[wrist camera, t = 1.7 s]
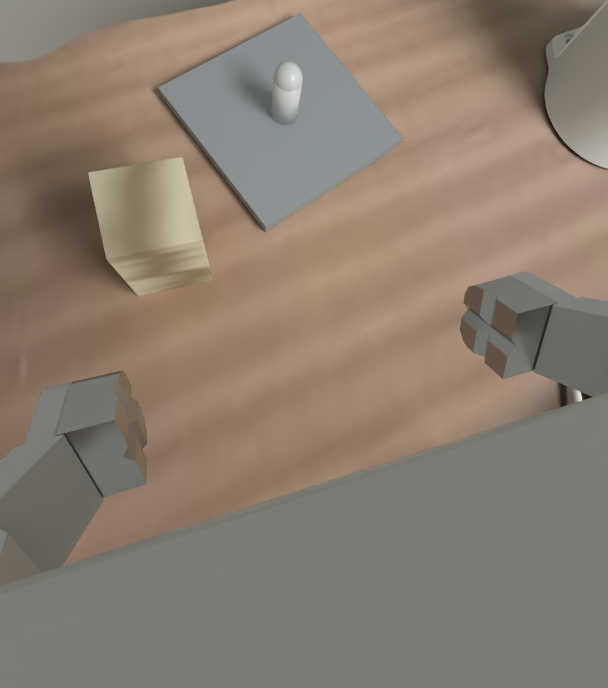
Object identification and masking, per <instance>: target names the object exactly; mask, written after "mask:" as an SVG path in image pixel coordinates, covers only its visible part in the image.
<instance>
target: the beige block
mask: <svg viewBox="0 0 608 688" xmlns="http://www.w3.org/2000/svg"><path fill="white" fill-rule="evenodd" d="M88 175H89V180H90V184H91V189H92V194H93V199H94V203H95V208H96V213H97V217H98V222H99V227H100V232H101V236H102V241H103V246H104V250H105V255H106V259H107V260H108V262H109V263H110V264H111V265H112V266H113V267H114V269H115V270H116V271H117V272H118V273H119V274H120V276H121V277H122V278H123V279H124V280H125V281H126V283H127V284H128V285H129V286H130V287H131V288H132V290H133V291H134V292H135V293H136V294H137V295H138V296H142V295H146V294H151V293H156V292H160V291H165V290H170V289H174V288H179V287H184V286H188V285H193V284H198V283H202V282H207V281H211V280H213V278H212V274H211V270H210V266H209V262H208V258H207V254H206V250H205V246H204V242H203V238H202V234H201V230H200V226H199V222H198V218H197V214H196V210H195V206H194V202H193V198H192V194H191V190H190V186H189V182H188V178H187V174H186V170H185V166H184V162H183V158H182V157H180V158H174V159H168V160H162V161H156V162H149V163H143V164H137V165H131V166H125V167H119V168H113V169H106V170H100V171H94V172H88Z"/></svg>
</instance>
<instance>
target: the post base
mask: <svg viewBox="0 0 608 688" xmlns="http://www.w3.org/2000/svg"><path fill="white" fill-rule="evenodd" d="M158 89H159V92H160V96H161V97H162V98H163V100H164V101H165V102H166V104H167V105H168V106H169V108H170V109H171V110H172V111H173V113H174V114H175V115H176V117H177V118H178V119H179V121H180V122H181V123H182V124H183V126H184V127H185V128H186V130H187V131H188V132H189V134H190V135H191V136H192V137H193V139H194V140H195V141H196V143H197V144H198V145H199V146H200V148H201V149H202V150H203V152H204V153H205V154H206V156H207V157H208V158H209V159H210V161H211V162H212V163H213V165H214V166H215V167H216V169H217V170H218V171H219V172H220V174H221V175H222V176H223V178H224V179H225V180H226V182H227V183H228V184H229V185H230V187H231V188H232V189H233V191H234V192H235V193H236V194H237V196H238V197H239V198H240V200H241V201H242V202H243V204H244V205H245V206H246V207H247V209H248V210H249V211H250V213H251V214H252V215H253V217H254V218H255V219H256V220H257V222H258V223H259V224H260V226H261V227H262V228H263V230H264V231H265V232H266V231H268V230H269V229H271V228H272V227H274V226H276V225H277V224H279V223H280V222H282V221H283V220H285V219H286V218H288V217H289V216H291V215H293V214H294V213H296V212H297V211H299V210H300V209H302V208H303V207H305V206H306V205H308V204H310V203H311V202H313V201H314V200H316V199H317V198H319V197H320V196H322V195H323V194H325V193H326V192H328V191H330V190H331V189H333V188H334V187H336V186H337V185H339V184H340V183H342V182H343V181H345V180H347V179H348V178H350V177H351V176H353V175H354V174H356V173H357V172H359V171H360V170H362V169H364V168H365V167H367V166H368V165H370V164H371V163H373V162H374V161H376V160H377V159H379V158H381V157H382V156H384V155H385V154H387V153H388V152H390V151H391V150H393V149H394V148H396V147H398V146H399V145H400V143H401V141H402V140H403V138H402V137H401V135H400V134H399V133H398V132H397V130H396V129H395V128H394V127H393V126H392V124H391V123H390V122H389V121H388V119H387V118H386V117H385V116H384V115H383V113H382V112H381V111H380V110H379V108H378V107H377V106H376V105H375V104H374V102H373V101H372V100H371V99H370V97H369V96H368V95H367V94H366V93H365V91H364V90H363V89H362V88H361V86H360V85H359V84H358V83H357V82H356V80H355V79H354V78H353V77H352V75H351V74H350V73H349V72H348V71H347V69H346V68H345V67H344V66H343V64H342V63H341V62H340V61H339V60H338V58H337V57H336V56H335V55H334V53H333V52H332V51H331V50H330V49H329V47H328V46H327V45H326V44H325V42H324V41H323V40H322V39H321V38H320V36H319V35H318V34H317V33H316V31H315V30H314V29H313V28H312V27H311V25H310V24H309V23H308V22H307V20H306V19H305V18H304V17H303V16H302V14H301V13H300V14H298V15H296V16H294V17H292V18H290V19H288V20H286V21H284V22H282V23H280V24H279V25H277V26H275V27H273V28H271V29H269V30H267V31H265V32H263V33H261V34H259V35H257V36H256V37H254V38H252V39H250V40H248V41H246V42H244V43H242V44H240V45H238V46H236V47H234V48H233V49H231V50H229V51H227V52H225V53H223V54H221V55H219V56H217V57H215V58H213V59H211V60H209V61H208V62H206V63H204V64H202V65H200V66H198V67H196V68H194V69H192V70H190V71H188V72H186V73H185V74H183V75H181V76H179V77H177V78H175V79H173V80H171V81H169V82H167V83H165V84H163V85H162V86H160V87H158Z"/></svg>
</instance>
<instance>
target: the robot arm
mask: <svg viewBox="0 0 608 688" xmlns="http://www.w3.org/2000/svg"><path fill="white" fill-rule="evenodd" d="M546 58H547V62H548V67H549V71H548V76H547V80H546V85H545V104H546V109H547V112H548V115H549V118H550V120H551V122H552V124H553V126H554V128H555V130H556V131H557V133H558V134H559V136H560V137H561V138H562V140H563V141H564V142H565V143H566V144H567V145H568V146H569V147H570V148H571V149H572V150H573V151H574V152H576V153H577V154H578V155H580V156H581V157H582V158H584V159H586V160H587V161H589V162H591V163H593V164H595V165H598V166H600V167H604V168H607V169H608V0H606V1H605V2H604V3H603V4H602V5H601V7H600V8H599V9H598V10H597V11H596V12H595V13H594V14H593V15H592V16H591V18H590V19H589V20H588V21H587V22H586V23H585V24H584V25H583V26H582V27H579V28H576V29H573V30H570V31H568V32H565V33H562V34H559V35H557V36H555V37H554V38H553V39H552V40H551V41H550V42H549V43H548V44H547V46H546ZM464 304H465V305H466V307H467V308H468V309H467V311H466V312H465V314H464V315H463V316H462V318H461V326H460V331H461V335H462V339H463V341H464V343H465V344H466V346H467V347H468V348H469V349H470V350H471V351H472V352H473V353H476V354H479V355H482V356H485V364H487V365H488V366H489V367H490V368H491V369H492V370H493V371H494V372H496V373H497V374H498V375H499V376H500V377H501V378H502V379H504V378H508V377H512V376H515V375H519V374H523V373H527V372H530V371H534V372H535V373H537V374H539V375H542V376H544V377H547V378H549V379H551V380H554V381H556V382H558V383H561V384H563V385H566V386H568V387H570V388H573V389H575V390H578V391H580V392H582V393H585V394H587V395H589V396H592V397H591V398H588V399H585V400H582V401H579V402H576V403H573V404H569V405H566V406H563V407H560V408H557V409H554V410H550V411H547V412H544V413H541V414H538V415H535V416H532V417H528V418H525V419H522V420H519V421H516V422H513V423H509V424H506V425H503V426H500V427H497V428H494V429H490V430H487V431H484V432H481V433H478V434H475V435H471V436H468V437H465V438H462V439H459V440H456V441H453V442H450V443H446V444H443V445H440V446H437V447H434V448H431V449H428V450H424V451H421V452H418V453H415V454H412V455H409V456H406V457H403V458H399V459H396V460H393V461H390V462H387V463H384V464H381V465H378V466H374V467H371V468H368V469H365V470H362V471H359V472H356V473H353V474H349V475H346V476H343V477H340V478H337V479H334V480H331V481H328V482H324V483H321V484H318V485H315V486H312V487H309V488H306V489H302V490H299V491H296V492H293V493H290V494H287V495H284V496H281V497H277V498H274V499H271V500H268V501H265V502H262V503H259V504H255V505H252V506H249V507H246V508H243V509H240V510H237V511H234V512H230V513H227V514H224V515H221V516H218V517H215V518H212V519H208V520H205V521H202V522H199V523H196V524H193V525H190V526H186V527H183V528H180V529H177V530H174V531H171V532H168V533H165V534H161V535H158V536H155V537H152V538H149V539H146V540H143V541H139V542H136V543H133V544H130V545H127V546H124V547H121V548H118V549H114V550H111V551H108V552H105V553H102V554H99V555H96V556H92V557H89V558H86V559H83V560H80V561H77V562H74V563H70V564H67V565H64V566H62V565H63V564H64V562H65V561H66V559H67V557H68V556H69V554H70V553H71V551H72V550H73V548H74V546H75V545H76V543H77V542H78V540H79V538H80V537H81V535H82V534H83V532H84V530H85V529H86V527H87V526H88V524H89V523H90V521H91V519H92V518H93V516H94V515H95V513H96V511H97V510H98V508H99V507H100V505H101V503H102V502H103V498H104V497H107V496H110V495H114V494H117V493H120V492H123V491H126V490H129V489H132V488H135V487H138V486H141V485H145V484H146V479H147V458H146V456H145V454H144V452H143V448H144V446H145V445H146V444H147V430H146V424H145V419H144V416H143V413H142V410H141V407H140V405H139V403H138V401H136V400H134V399H132V398H131V384H130V382H129V380H128V378H127V376H126V374H125V373H124V372H123V371H119V372H115V373H110V374H106V375H101V376H97V377H92V378H88V379H83V380H79V381H74V382H72V383H70V382H69V383H65V384H61V385H57V386H53V387H49V388H46V389H45V390H43V391H42V393H41V395H40V398H39V401H38V404H37V407H36V410H35V413H34V416H33V419H32V422H31V425H30V428H29V431H28V434H27V437H26V440H25V442H24V445H21V446H17V447H15V448H14V449H13V450H11V451H10V452H9V453H8V454H7V455H6V456H5V457H4V458H3V459H1V460H0V688H608V302H607V301H601V300H596V299H591V298H585V297H581V298H576V297H574V296H572V295H570V294H568V293H566V292H565V291H563V290H561V289H559V288H557V287H555V286H554V285H552V284H550V283H548V282H546V281H544V280H543V279H541V278H539V277H537V276H535V275H533V274H532V273H529V272H521V273H517V274H514V275H510V276H507V277H504V278H500V279H497V280H493V281H489V282H485V283H482V284H478V285H474V286H470V287H468V289H467V291H466V293H465V297H464Z"/></svg>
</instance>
